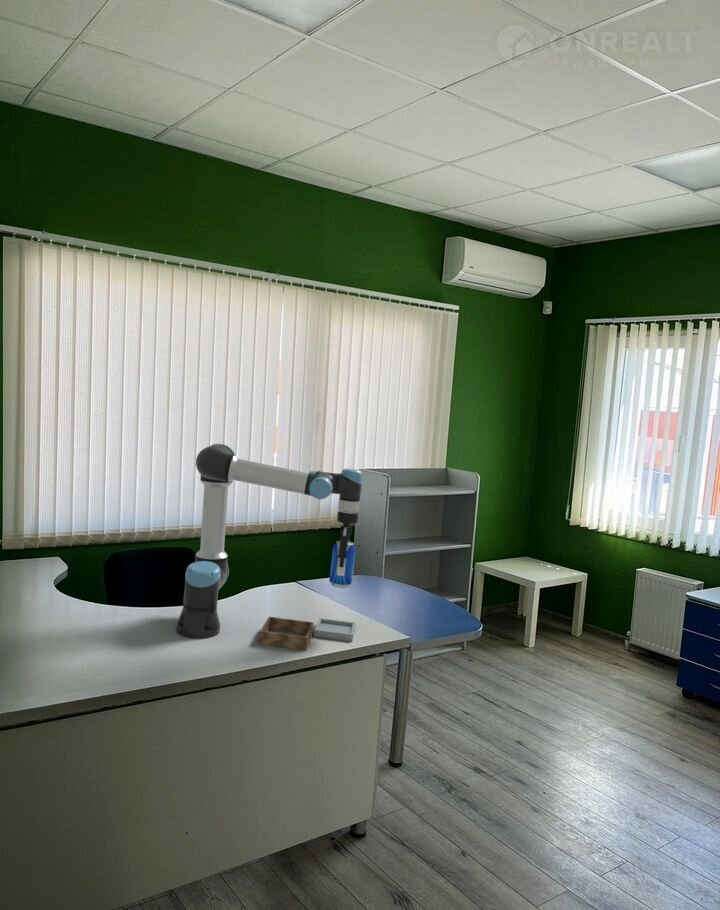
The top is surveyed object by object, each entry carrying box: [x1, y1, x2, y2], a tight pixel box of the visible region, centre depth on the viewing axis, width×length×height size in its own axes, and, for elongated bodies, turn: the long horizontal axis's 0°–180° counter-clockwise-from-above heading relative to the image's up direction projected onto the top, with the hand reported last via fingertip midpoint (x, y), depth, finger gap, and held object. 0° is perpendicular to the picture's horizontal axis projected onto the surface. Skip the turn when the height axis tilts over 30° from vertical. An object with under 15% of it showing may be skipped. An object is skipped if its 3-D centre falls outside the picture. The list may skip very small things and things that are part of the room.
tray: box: [313, 617, 357, 643], centre depth 266 cm, size 14×14×2 cm
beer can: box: [329, 540, 357, 589], centre depth 264 cm, size 8×8×16 cm
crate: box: [258, 616, 315, 651], centre depth 254 cm, size 17×17×4 cm
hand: (341, 572), depth 264 cm, fingers closed on beer can, 8 cm apart
